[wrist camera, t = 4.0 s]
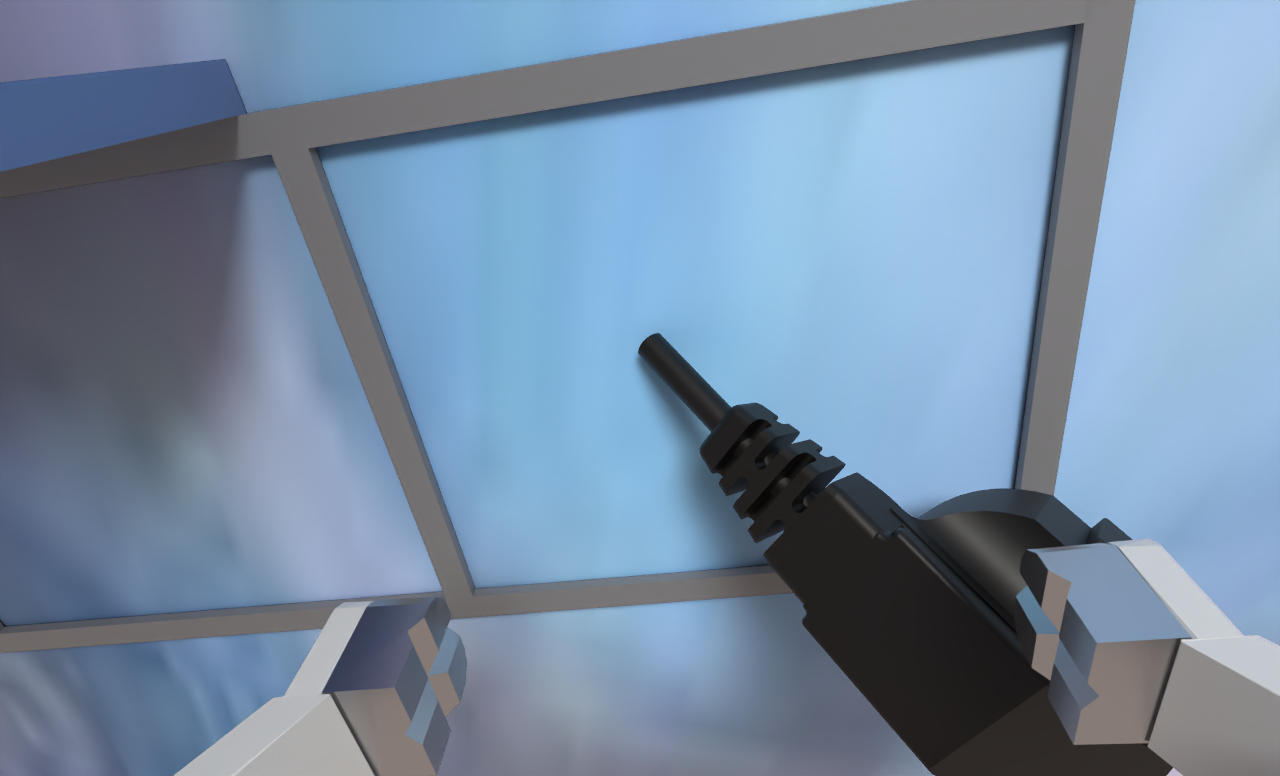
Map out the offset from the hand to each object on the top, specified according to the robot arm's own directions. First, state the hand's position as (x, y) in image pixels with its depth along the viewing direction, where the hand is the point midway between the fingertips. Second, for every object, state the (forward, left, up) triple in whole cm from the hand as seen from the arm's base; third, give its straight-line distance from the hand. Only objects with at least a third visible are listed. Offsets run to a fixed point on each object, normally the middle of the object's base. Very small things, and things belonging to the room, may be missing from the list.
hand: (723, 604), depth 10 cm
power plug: (0, 0, -9) cm, 9 cm away
